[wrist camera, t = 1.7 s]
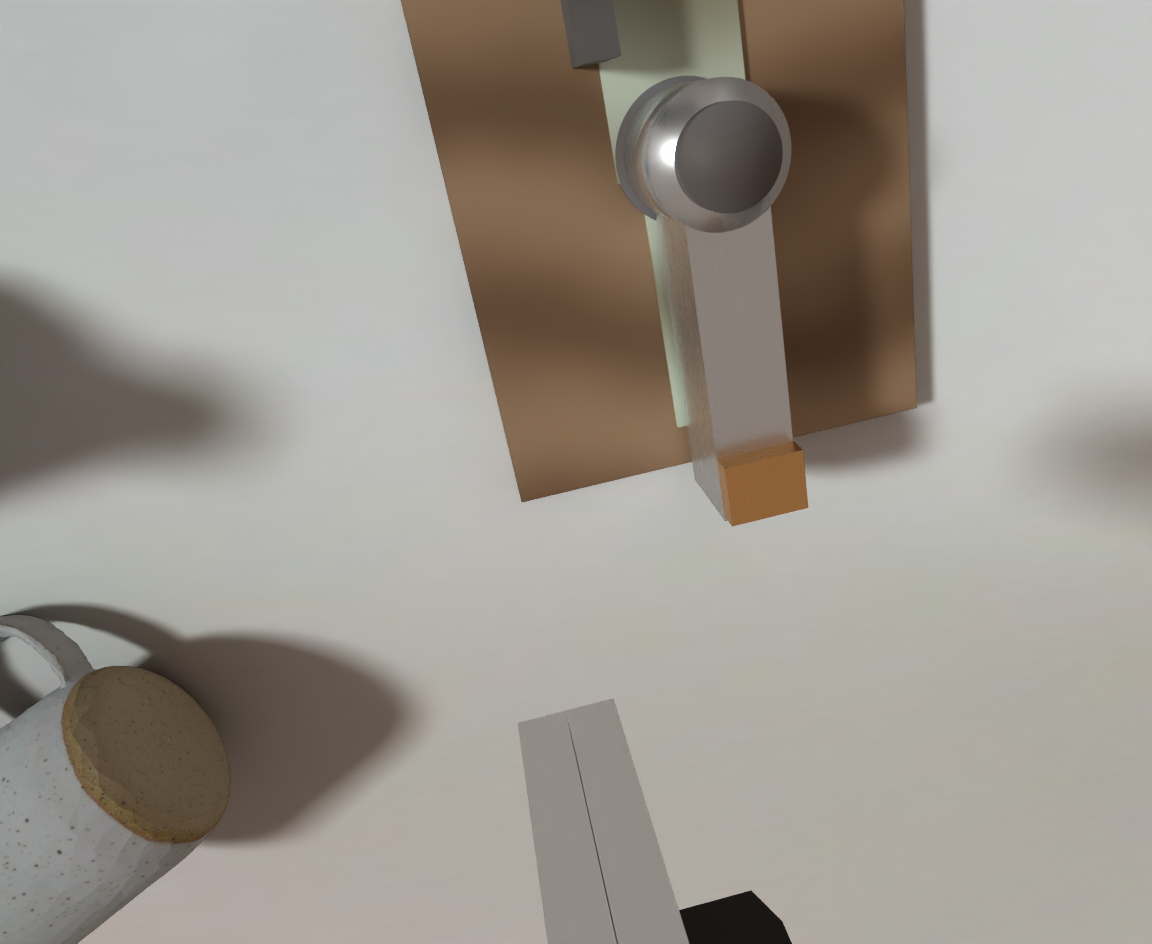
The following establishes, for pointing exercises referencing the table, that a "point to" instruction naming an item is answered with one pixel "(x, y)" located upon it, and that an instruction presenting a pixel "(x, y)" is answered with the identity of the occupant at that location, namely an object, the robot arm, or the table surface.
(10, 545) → the table surface
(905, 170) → the lock board
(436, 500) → the table surface
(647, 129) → the swing bar
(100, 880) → the ceramic mug
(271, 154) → the table surface
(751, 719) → the table surface
